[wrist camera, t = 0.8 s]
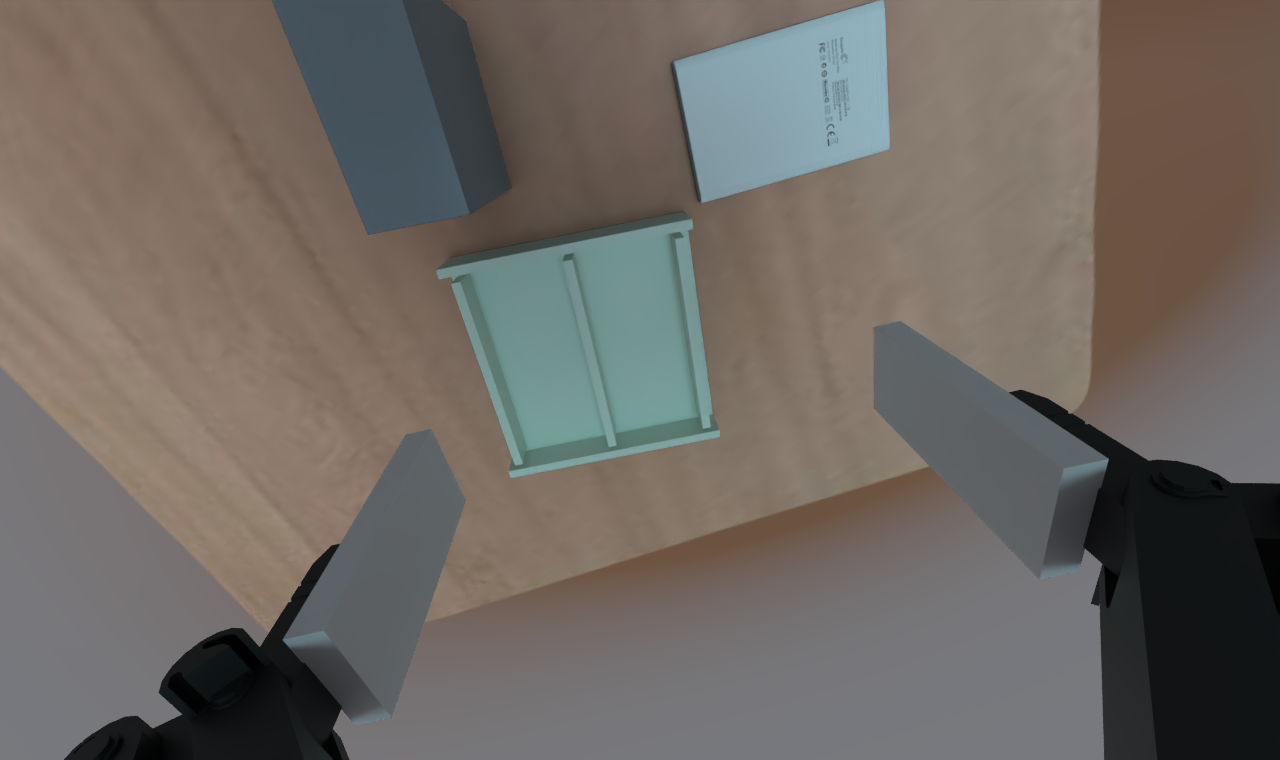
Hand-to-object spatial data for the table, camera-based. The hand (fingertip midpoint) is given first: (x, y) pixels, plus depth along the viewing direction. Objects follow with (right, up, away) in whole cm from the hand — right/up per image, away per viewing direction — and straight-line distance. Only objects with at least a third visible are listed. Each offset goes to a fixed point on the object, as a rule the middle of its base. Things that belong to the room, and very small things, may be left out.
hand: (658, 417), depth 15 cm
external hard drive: (+8, +18, +17) cm, 27 cm away
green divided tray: (-4, +4, +23) cm, 23 cm away
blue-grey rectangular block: (-12, +17, +16) cm, 26 cm away
